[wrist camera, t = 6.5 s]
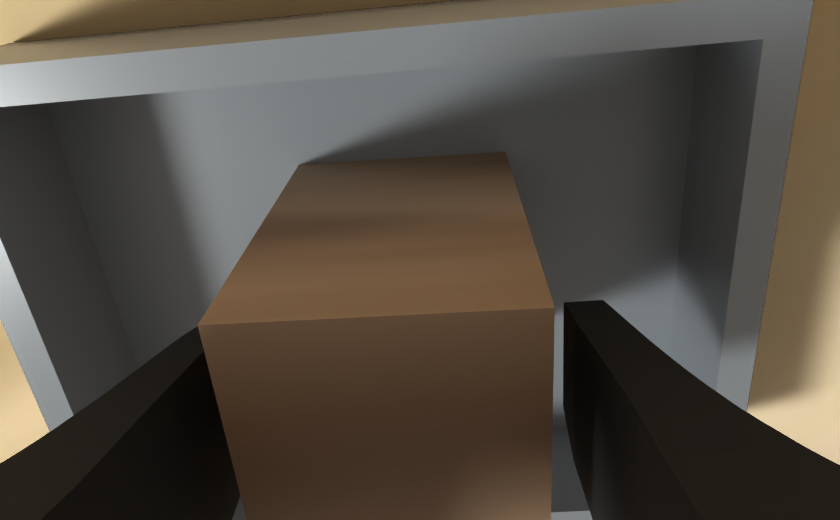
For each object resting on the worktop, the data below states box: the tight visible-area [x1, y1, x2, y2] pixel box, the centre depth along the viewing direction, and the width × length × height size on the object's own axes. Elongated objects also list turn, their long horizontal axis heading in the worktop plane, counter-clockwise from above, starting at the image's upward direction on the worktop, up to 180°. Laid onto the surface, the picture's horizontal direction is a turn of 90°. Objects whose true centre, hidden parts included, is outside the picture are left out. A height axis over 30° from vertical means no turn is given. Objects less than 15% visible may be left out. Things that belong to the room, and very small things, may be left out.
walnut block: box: [198, 152, 555, 520], centre depth 11 cm, size 4×4×6 cm
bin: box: [0, 0, 814, 520], centre depth 13 cm, size 10×13×3 cm
